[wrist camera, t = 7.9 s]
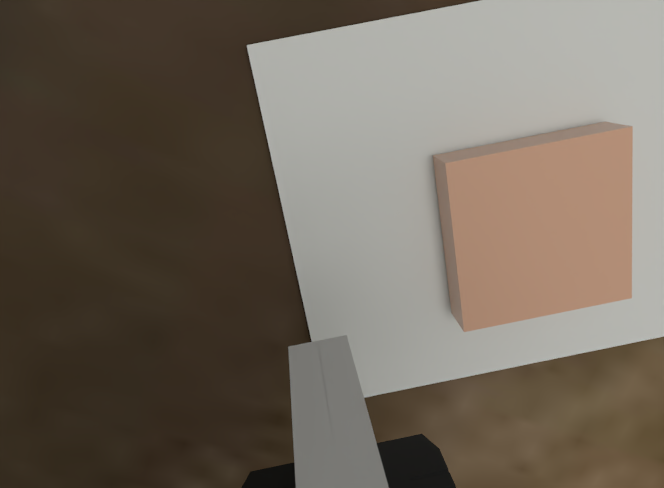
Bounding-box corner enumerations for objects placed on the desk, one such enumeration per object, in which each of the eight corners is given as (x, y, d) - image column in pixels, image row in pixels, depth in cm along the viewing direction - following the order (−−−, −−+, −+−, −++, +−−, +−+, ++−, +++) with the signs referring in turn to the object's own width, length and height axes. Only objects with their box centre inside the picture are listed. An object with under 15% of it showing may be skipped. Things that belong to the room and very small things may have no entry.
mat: (324, 398, 29) (325, 405, 28) (247, 45, 23) (246, 45, 22) (686, 324, 29) (694, 330, 29) (702, -42, 23) (713, -44, 23)
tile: (464, 332, 25) (631, 298, 25) (445, 163, 22) (632, 126, 22) (450, 311, 27) (604, 279, 27) (431, 154, 24) (602, 120, 25)
